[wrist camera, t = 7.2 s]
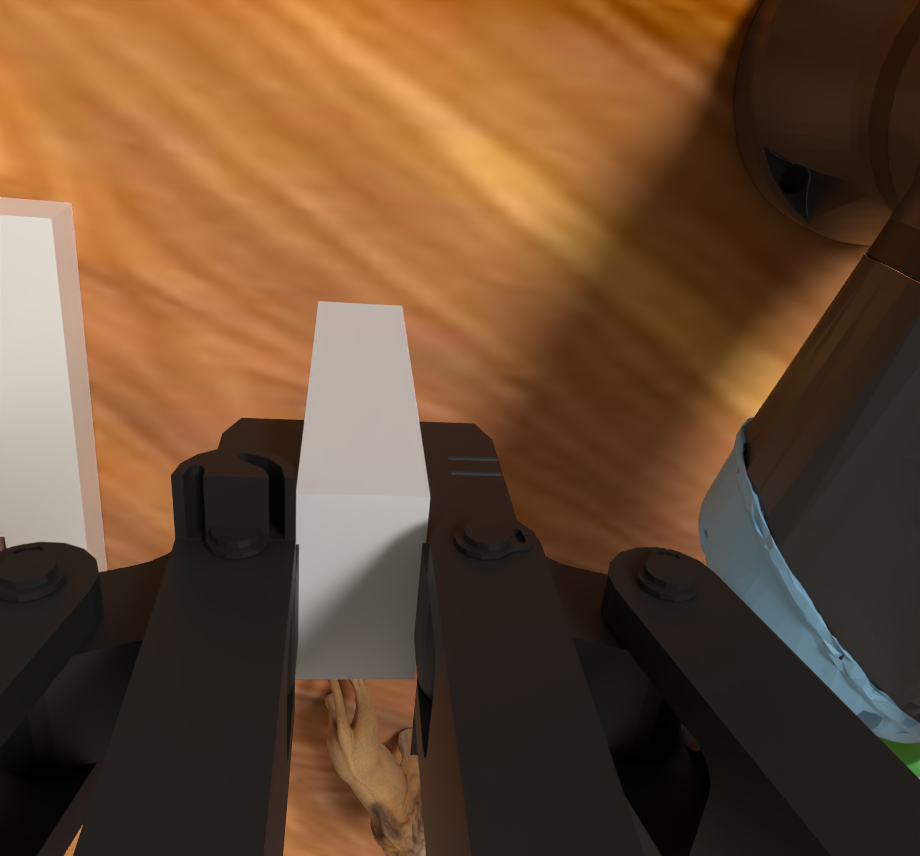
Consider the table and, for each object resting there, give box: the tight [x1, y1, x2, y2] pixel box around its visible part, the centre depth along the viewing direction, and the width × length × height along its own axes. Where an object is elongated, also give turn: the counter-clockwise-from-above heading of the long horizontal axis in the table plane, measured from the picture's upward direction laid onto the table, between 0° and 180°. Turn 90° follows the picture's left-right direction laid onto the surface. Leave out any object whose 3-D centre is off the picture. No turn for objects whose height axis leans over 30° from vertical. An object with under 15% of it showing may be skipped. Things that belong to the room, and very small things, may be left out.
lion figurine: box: [325, 679, 426, 856], centre depth 51 cm, size 15×5×9 cm, turn 33°
